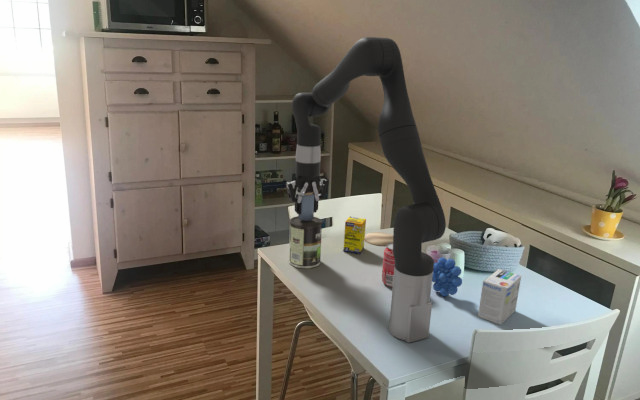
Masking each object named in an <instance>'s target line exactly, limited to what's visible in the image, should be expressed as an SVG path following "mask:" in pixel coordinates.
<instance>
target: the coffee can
mask: <svg viewBox="0 0 640 400" xmlns="http://www.w3.org/2000/svg"><path fill="white" fill-rule="evenodd" d="M322 227H323V220H322V219H321V218H320V217H317V216H314V219H313V220H310V221H304V220H300V219H299V218H298V215H297V216H293V217H291V218H290V219H289V252H288V253H289V255H288V258H289V259H288V263H289V265H291V266H293V267H295V268H299V269H312V268H313V269H314V268H316V267H319V265H321V262H322V261H321V256H322V255H321V253H322Z"/></svg>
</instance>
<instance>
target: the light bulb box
mask: <svg viewBox="0 0 640 400" xmlns="http://www.w3.org/2000/svg"><path fill="white" fill-rule="evenodd" d="M521 281H522V275H520V274H517V273H513V272H512V271H511V272H510V271H507V270H504V269H501V268H497V269H496V270H495V271H494V272H493V273H492V274H490V275H489V276H488V277H487V278H485V279H484V280H483V281H482V285H481V286H482V287H481V292H480V299H479V300H480V301H479V306H478V307H479V308H478V315H477V316H478V318H481V319H483V320H486V321H489V322H492V323H495V324H497V325H500V326H502V325H503V324H504V322H505V321H507V320H508V319H509V318H510V317H511V315H513V313H515V312H516V310H517V309H516V308H517V304H518V297H519V292H520V287H521Z"/></svg>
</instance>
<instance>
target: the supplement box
mask: <svg viewBox="0 0 640 400" xmlns="http://www.w3.org/2000/svg"><path fill="white" fill-rule="evenodd" d="M366 223H367V219H366V218H361V217H356V216H355V217H354V216H349V217H348V218H347V219H346V220H345V221H344V237H343V250H342V252H346V253H353V254H357V255H360V254H361V253H362V252H363V250H364V248H365V240H364V239H365V235H366Z"/></svg>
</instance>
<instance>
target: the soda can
mask: <svg viewBox="0 0 640 400" xmlns="http://www.w3.org/2000/svg"><path fill="white" fill-rule="evenodd" d="M394 267H395V259H394V255H393V243H389V244H387V246H386V247H385V249H384V251H383V261H382V269H381V271H382V273H381V280H382V284H384V285H386V287H390V288H393V278H394Z"/></svg>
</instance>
